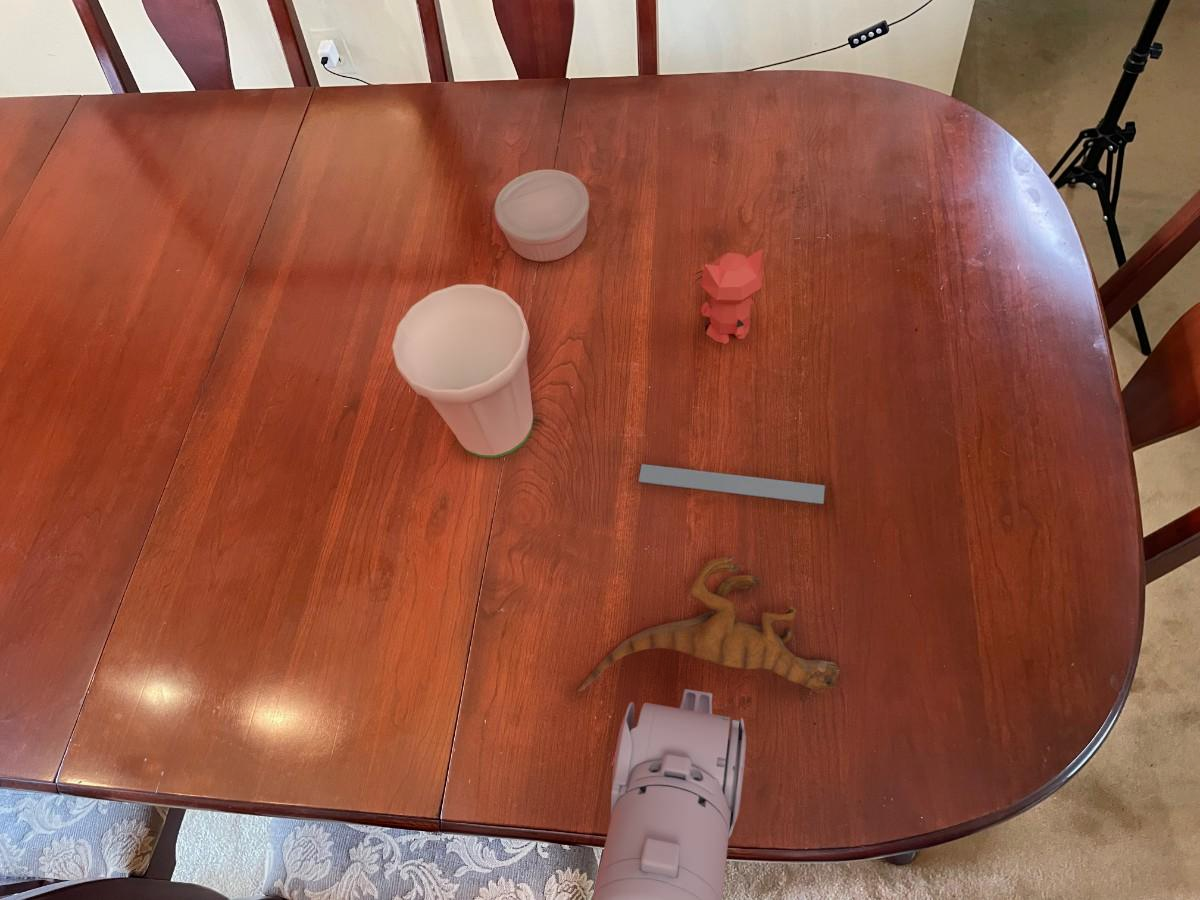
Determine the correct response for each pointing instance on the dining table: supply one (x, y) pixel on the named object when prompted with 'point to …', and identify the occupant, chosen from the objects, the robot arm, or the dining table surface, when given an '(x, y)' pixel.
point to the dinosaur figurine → (728, 636)
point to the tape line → (732, 484)
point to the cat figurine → (731, 293)
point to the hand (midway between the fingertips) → (686, 816)
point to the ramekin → (543, 214)
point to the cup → (470, 365)
